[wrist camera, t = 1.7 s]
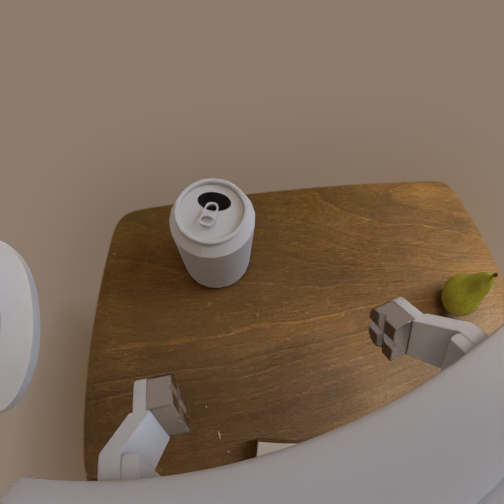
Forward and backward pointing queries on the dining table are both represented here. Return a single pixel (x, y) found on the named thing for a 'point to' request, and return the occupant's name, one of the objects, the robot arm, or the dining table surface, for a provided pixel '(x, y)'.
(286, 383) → the dining table surface
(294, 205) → the dining table surface
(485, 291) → the fruit
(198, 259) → the can
